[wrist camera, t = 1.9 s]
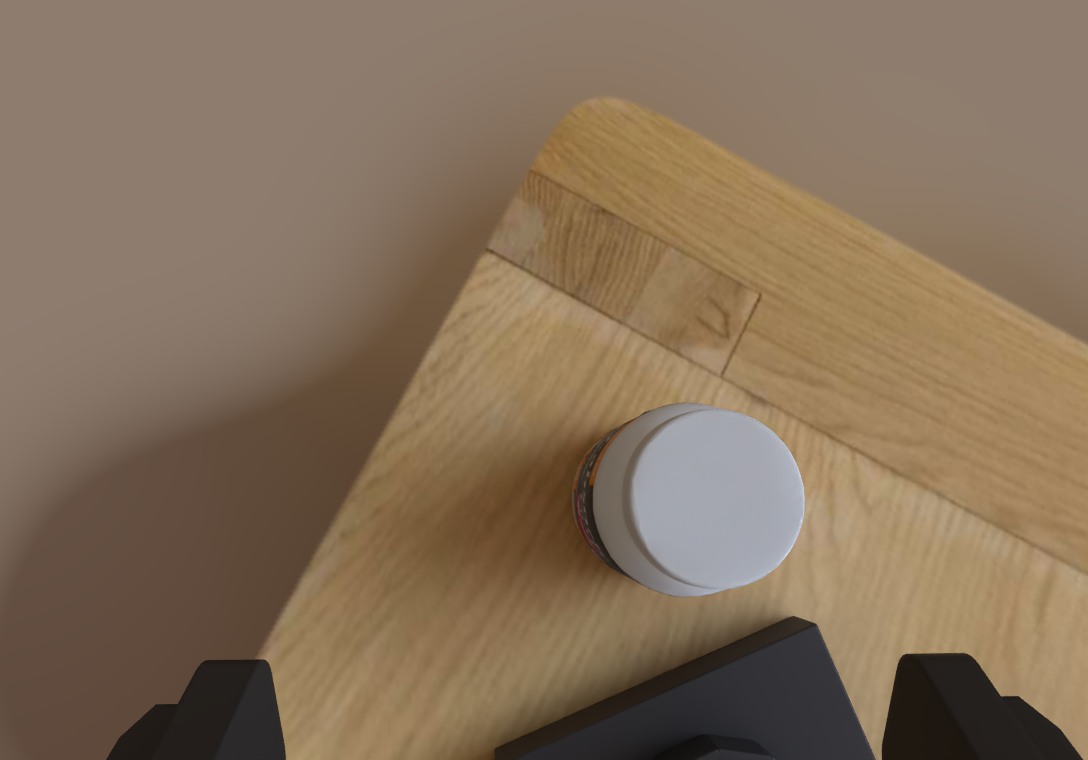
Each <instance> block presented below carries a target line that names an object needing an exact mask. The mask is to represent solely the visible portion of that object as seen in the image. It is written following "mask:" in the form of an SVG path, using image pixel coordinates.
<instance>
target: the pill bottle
mask: <svg viewBox="0 0 1088 760" xmlns="http://www.w3.org/2000/svg"><path fill="white" fill-rule="evenodd" d="M804 506H805V500H804V489H803V483H802V478H801V475H800V472H799V469H798V466H797V464H796V462H795V460H794V458H793V456H792V454H791V453H790V451H789V449H788V448H787V447H786V445H785V444H784V443H783V441H782V440H781V439H780V438H779V437H778V436H777V435H776V434H775V433H774V432H773V431H772V430H770V429H769V428H768V427H766V426H765V425H764V424H762V423H761V422H759V421H757V420H755V419H754V418H751V417H749V416H747V415H744V414H741V413H738V412H735V411H730V410H724V409H719V408H716V407H713V406H709V405H705V404H699V403H677V404H671V405H666V406H662V407H659V408H656V409H653V410H650V411H647V412H644V413H643V414H641V415H640V416H639V417H637V418H635V419H633V420H631V421H629V422H627V423H625V424H623V425H622V426H620V427H618V428H616V429H614V430H612V431H611V432H609V433H607V434H606V435H604V436H603V437H602V438H601V439H600V440H599V441H598V442H596V443H595V444H594V445H593V446H592V447H591V448H590V450H589V451H588V452H587V454H586V455H585V456H584V458H583V460H582V462H581V463H580V465H579V468H578V470H577V472H576V475H575V478H574V483H573V490H572V508H573V515H574V518H575V522H576V525H577V528H578V530H579V532H580V535H581V536H582V538H583V540H584V542H585V543H586V544H587V546H588V547H589V548H590V549H591V551H592V552H593V553H594V554H595V555H596V556H597V557H598V558H599V559H600V560H601V561H603V562H604V563H605V564H607V565H608V566H610V567H611V568H613V569H615V570H616V571H618V572H620V573H621V574H624V575H626V576H627V577H629V578H631V579H632V580H634V581H636V582H638V583H640V584H642V585H644V586H646V587H648V588H650V589H652V590H655V591H657V592H660V593H663V594H668V595H672V596H679V597H693V596H704V595H709V594H714V593H717V592H720V591H723V590H725V589H732V588H738V587H741V586H744V585H747V584H750V583H752V582H755V581H757V580H759V579H761V578H763V577H764V576H766V575H767V574H769V573H770V572H771V571H772V570H774V569H775V568H776V567H777V566H778V565H779V564H780V563H781V562H782V561H783V560H784V558H785V557H786V556H787V554H788V553H789V552H790V550H791V549H792V547H793V545H794V543H795V541H796V539H797V537H798V534H799V531H800V528H801V525H802V521H803V516H804Z"/></svg>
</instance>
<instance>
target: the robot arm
mask: <svg viewBox="0 0 1088 760" xmlns="http://www.w3.org/2000/svg"><path fill="white" fill-rule="evenodd" d="M106 760H286V754H285V745H284V739H283V733H282V728H281V722H280V717H279V711H278V705H277V700H276V694H275V689H274V683H273V677H272V672H271V668H270V665H269V664H268V662H267V661H266V660H207V661H204V662H203V663H201V665H200V666H199V667H198V668H197V670H196V672H195V674H194V675H193V677H192V679H191V681H190V683H189V684H188V686H187V688H186V690H185V692H184V694H183V696H182V698H181V700H180V701H179V703H178V704H159V705H155V706H154V707H153V708H152V709H151V710H149V711H148V712H147V713H146V714H145V715H144V716H143V717H142V718H141V719H140V720H138V721H137V722H136V723H135V724H134V725H133V726H132V727H131V728H130V729H129V730H128V731H126V733H124V734H123V735H122V736H121V737H120V738H119V739H118V741H117V743H116V744H115V746H114V748H113V749H112V751H111V753H110V754H109V756H108V758H107V759H106ZM882 760H1083V759H1082V758H1081V756H1080V755H1079V754H1078V752H1077V751H1076V750H1075V748H1074V747H1073V746H1072V744H1071V743H1070V742H1069V740H1068V739H1067V738H1066V736H1065V735H1064V734H1063V732H1062V731H1061V730H1060V729H1059V728H1058V727H1057V726H1056V725H1054V724H1053V723H1052V722H1051V721H1049V720H1048V719H1047V718H1045V717H1044V716H1043V715H1042V714H1040V713H1039V712H1038V711H1037V710H1035V709H1034V708H1033V707H1031V706H1030V705H1029V704H1028V703H1026V702H1025V701H1024V700H1023V699H1021V698H1020V697H1019V696H1003V697H1001V696H1000V694H999V693H998V691H997V690H996V689H995V687H994V686H993V684H992V683H991V681H990V680H989V679H988V677H987V676H986V674H985V673H984V671H983V670H982V668H981V667H980V666H979V664H978V663H977V662H976V660H975V659H974V658H973V657H971V656H970V655H968V654H965V653H931V654H905V655H903V656H902V657H901V658H900V660H899V663H898V666H897V670H896V676H895V681H894V686H893V691H892V696H891V701H890V706H889V711H888V717H887V722H886V727H885V732H884V737H883V743H882Z"/></svg>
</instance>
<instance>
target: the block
mask: <svg viewBox="0 0 1088 760" xmlns="http://www.w3.org/2000/svg"><path fill="white" fill-rule="evenodd" d="M495 760H876V759H875V757H874V755H873V752H872V750H871V748H870V745H869V743H868V741H867V739H866V736H865V734H864V732H863V729H862V727H861V725H860V722H859V720H858V718H857V716H856V713H855V711H854V709H853V706H852V704H851V702H850V699H849V697H848V695H847V693H846V690H845V688H844V686H843V683H842V681H841V679H840V677H839V674H838V672H837V670H836V667H835V665H834V663H833V660H832V658H831V656H830V654H829V651H828V649H827V647H826V644H825V642H824V640H823V637H822V635H821V633H820V631H819V628H818V626H817V624H815V623H812V622H809V621H807V620H804V619H801V618H798V617H795V616H792V617H790V618H788V619H785V620H783V621H781V622H779V623H776V624H774V625H772V626H770V627H767V628H765V629H763V630H761V631H758V632H756V633H754V634H752V635H750V636H747V637H745V638H743V639H741V640H738V641H736V642H734V643H732V644H729V645H727V646H725V647H723V648H720V649H718V650H716V651H714V652H711V653H709V654H707V655H705V656H702V657H700V658H698V659H696V660H693V661H691V662H689V663H687V664H684V665H682V666H680V667H678V668H675V669H673V670H671V671H669V672H666V673H664V674H662V675H660V676H657V677H655V678H653V679H651V680H648V681H646V682H644V683H642V684H639V685H637V686H635V687H633V688H630V689H628V690H626V691H624V692H621V693H619V694H617V695H615V696H612V697H610V698H608V699H606V700H604V701H601V702H599V703H597V704H595V705H592V706H590V707H588V708H586V709H583V710H581V711H579V712H577V713H574V714H572V715H570V716H568V717H565V718H563V719H561V720H559V721H556V722H554V723H552V724H550V725H547V726H545V727H543V728H541V729H538V730H536V731H534V732H532V733H529V734H527V735H525V736H523V737H520V738H518V739H516V740H514V741H511V742H509V743H507V744H505V745H502V746H500V747H498V748H496V749H495Z"/></svg>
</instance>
